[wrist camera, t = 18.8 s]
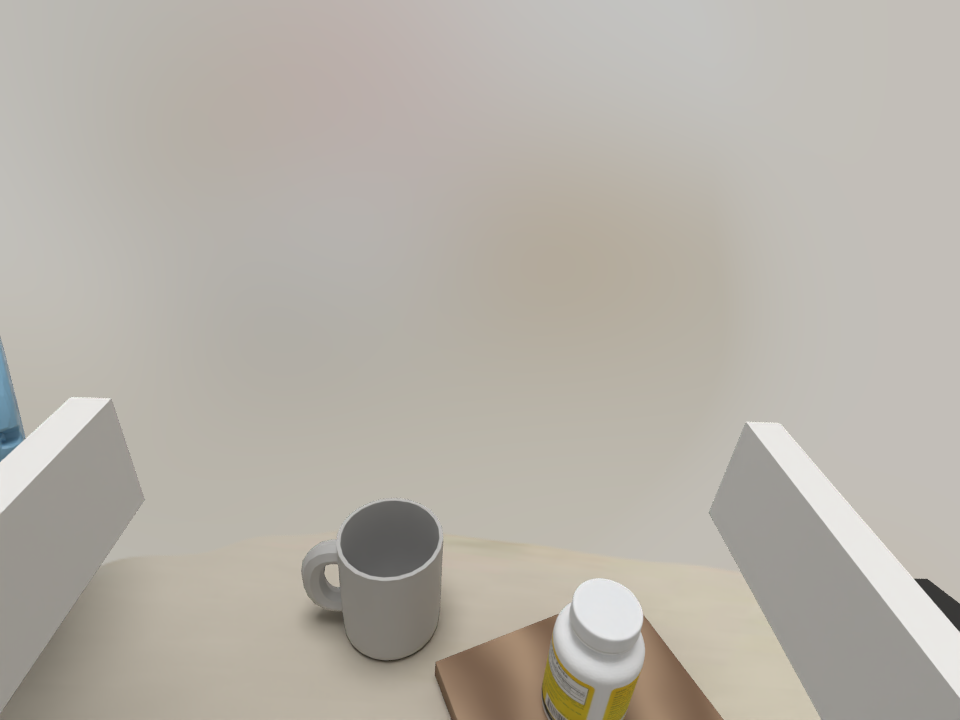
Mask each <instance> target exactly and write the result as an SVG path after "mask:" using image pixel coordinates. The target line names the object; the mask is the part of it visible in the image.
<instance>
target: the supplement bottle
mask: <svg viewBox="0 0 960 720" xmlns="http://www.w3.org/2000/svg"><path fill="white" fill-rule="evenodd" d="M642 624H643V611H642V608H641V605H640V603H639V601H638V600H637V598H636V597H635V596H634V594H633V593H632V592H631V591H630V590H628V589H627V588H626V587H625V586H623V585H621V584H620V583H617V582H615V581H612V580H608V579H602V578H597V579H591V580H588V581H586V582H584V583H582V584H581V585H580V586H579V587H578V588H577V589H576V591H575V593H574V596H573V599H572V602H571V603H569V604H568V605H566V606H565V607H564V608H563V609H562V611H561V612H560V613H559V615H558V617H557V619H556V622H555V625H554V629H553V633H552V638H551V643H550V648H549V653H548V658H547V663H546V668H545V673H544V678H543V683H542V692H541V696H542V705H543V709H544V712H545V714H546V716H547V718H548V720H624V718H625V715H626V712H627V709H628V706H629V703H630V700H631V698H632V695H633V692H634V689H635V686H636V684H637V681H638V678H639V675H640V673H641V670H642V667H643V663H644V659H645V644H644V640H643V636H642V633H641V628H642Z"/></svg>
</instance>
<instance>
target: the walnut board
mask: <svg viewBox="0 0 960 720" xmlns="http://www.w3.org/2000/svg"><path fill="white" fill-rule="evenodd" d="M558 615H559V614H557V615H555V616H552V617H550V618H547V619H544V620H542V621H539V622H537V623H534V624H532V625H529V626H527V627H524V628H521V629H519V630H516V631H514V632H511V633H509V634H506V635H504V636H501V637H498V638H496V639H493V640H491V641H488V642H486V643H483V644H481V645H478V646H475V647H473V648H470V649H468V650H465V651H463V652H460V653H458V654H455V655H452V656H450V657H447V658H445V659H442V660H440V661H437V662H436V666H435V676H436V678H437V681H438V684H439V687H440V689H441V692H442V695H443V697H444V700H445V703H446V706H447V708H448V711H449V714H450V716H451V719H452V720H548V718H547V716H546V714H545V712H544V709H543V705H542V696H541V692H542V683H543V678H544V673H545V668H546V663H547V658H548V653H549V648H550V643H551V638H552V633H553V629H554V625H555V622H556V619H557V617H558ZM641 633H642V636H643V640H644V644H645V659H644V663H643V667H642V670H641V673H640V675H639V678H638V681H637V684H636V686H635V689H634V692H633V695H632V698H631V700H630V703H629V706H628V709H627V712H626V715H625V718H624V720H723V718H722V717H721V716H720V715H719V713H718V712H717V711H716V709H715V708H714V707H713V705H712V704H711V703H710V701H709V700H708V699H707V698H706V696H705V695H704V694H703V692H702V691H701V690H700V688H699V687H698V686H697V684H696V683H695V682H694V680H693V679H692V678H691V677H690V675H689V674H688V673H687V671H686V670H685V669H684V667H683V666H682V665H681V663H680V662H679V661H678V659H677V658H676V657H675V656H674V654H673V653H672V652H671V650H670V649H669V648H668V646H667V645H666V644H665V642H664V641H663V640H662V639H661V637H660V636H659V635H658V633H657V632H656V631H655V629H654V628H653V627H652V625H651V624H650V623H649V621H648V620H647V619H646V618H645V616H644V615H643V624H642V628H641Z"/></svg>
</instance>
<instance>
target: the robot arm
mask: <svg viewBox="0 0 960 720" xmlns="http://www.w3.org/2000/svg"><path fill="white" fill-rule="evenodd" d="M144 500H145V499H144V496H143V493H142V490H141V487H140V484H139V481H138V478H137V474H136V471H135V469H134V466H133V463H132V459H131V456H130V453H129V450H128V447H127V444H126V441H125V438H124V436H123V433H122V429H121V426H120V423H119V420H118V417H117V414H116V411H115V408H114V405H113V402H112V399H111V398H110V399H109V398H84V397H82V398H81V397H70V398H69V399H68V400H67V401H66V402H65V403H64V404H63V405H62V406H61V407H59V408H58V409H57V410H56V411H55V412H54V413H53V414H52V415H51V416H50V417H49V418H48V419H46V420H45V421H44V422H43V423H42V424H41V425H40V426H39V427H38V428H37V429H36V430H34V431H33V432H32V434H30V435H29V436H28V437H27V438H25V434H24V430H23V425H22V421H21V417H20V413H19V409H18V405H17V400H16V396H15V392H14V388H13V384H12V380H11V376H10V372H9V368H8V364H7V360H6V356H5V352H4V348H3V345H2V341H1V337H0V713H1V712H2V710H3V709H4V707H5V706H6V704H7V703H8V701H9V700H10V698H11V697H12V695H13V694H14V693H15V691H16V690H17V688H18V687H19V685H20V684H21V682H22V681H23V679H24V678H25V676H26V675H27V673H28V672H29V670H30V669H31V667H32V666H33V664H34V663H35V661H36V660H37V658H38V657H39V656H40V654H41V653H42V651H43V650H44V648H45V647H46V645H47V644H48V642H49V641H50V639H51V638H52V636H53V635H54V633H55V632H56V630H57V629H58V627H59V626H60V624H61V623H62V622H63V620H64V619H65V617H66V616H67V614H68V613H69V611H70V610H71V608H72V607H73V605H74V604H75V602H76V601H77V599H78V598H79V596H80V595H81V593H82V592H83V590H84V589H85V587H86V586H87V585H88V583H89V582H90V580H91V579H92V577H93V576H94V574H95V573H96V571H97V570H98V568H99V567H100V565H101V564H102V562H103V561H104V559H105V558H106V556H107V555H108V553H109V552H110V550H111V549H112V548H113V546H114V545H115V543H116V542H117V540H118V539H119V537H120V536H121V534H122V533H123V531H124V530H125V528H126V527H127V525H128V524H129V522H130V521H131V519H132V518H133V516H134V515H135V514H136V512H137V511H138V509H139V508H140V506H141V504H142V503H143V502H144ZM709 514H710V516H711V518H712V520H713V521H714V523H715V525H716V527H717V529H718V531H719V532H720V534H721V536H722V538H723V540H724V542H725V543H726V545H727V547H728V549H729V551H730V552H731V554H732V556H733V558H734V560H735V562H736V564H737V565H738V567H739V569H740V571H741V573H742V575H743V577H744V578H745V580H746V582H747V584H748V586H749V588H750V589H751V591H752V593H753V595H754V597H755V599H756V600H757V602H758V604H759V606H760V608H761V610H762V611H763V613H764V615H765V617H766V619H767V621H768V622H769V624H770V626H771V628H772V630H773V632H774V633H775V635H776V637H777V639H778V641H779V643H780V644H781V646H782V648H783V650H784V652H785V654H786V655H787V657H788V659H789V661H790V663H791V665H792V666H793V668H794V670H795V672H796V674H797V676H798V677H799V679H800V681H801V683H802V685H803V687H804V688H805V690H806V692H807V694H808V696H809V698H810V699H811V701H812V703H813V705H814V707H815V709H816V711H817V712H818V714H819V716H820V718H821V720H960V604H959V603H958V602H957V601H955V600H954V599H953V598H952V597H950V596H948V594H946V593H945V592H944V591H942V590H941V589H940V588H938V587H937V586H936V585H934V584H933V583H932V582H931V581H929V580H928V579H913V577H912V576H911V575H910V574H909V573H908V572H907V571H906V569H905V568H904V567H903V566H902V565H901V564H900V562H899V561H898V560H897V559H896V558H895V557H894V555H893V554H892V553H891V552H890V551H889V550H888V548H887V547H886V546H885V545H884V544H883V543H882V541H881V540H880V539H879V538H878V537H877V536H876V535H875V533H874V532H873V531H872V530H871V529H870V527H869V526H868V525H867V524H866V523H865V522H864V521H863V519H862V518H861V517H860V516H859V515H858V514H857V513H856V511H855V510H854V509H853V508H852V507H851V506H850V504H849V503H848V502H847V501H846V500H845V499H844V497H843V496H842V495H841V494H840V493H839V491H838V490H837V489H836V488H835V487H834V486H833V485H832V483H831V482H830V481H829V480H828V479H827V478H826V476H825V475H824V474H823V473H822V472H821V471H820V469H819V468H818V467H817V466H816V465H815V464H814V462H813V461H812V460H811V459H810V458H809V457H808V456H807V455H806V453H805V452H804V451H803V450H802V448H800V446H799V445H798V444H797V443H796V441H794V439H793V438H792V437H791V436H790V435H789V433H788V432H787V431H786V430H785V429H784V428H783V426H782V425H781V424H780V423H766V422H764V423H763V422H746V423H745V425H744V428H743V430H742V433H741V435H740V438H739V440H738V442H737V445H736V447H735V450H734V452H733V455H732V457H731V460H730V462H729V465H728V467H727V469H726V472H725V474H724V477H723V479H722V482H721V484H720V486H719V489H718V491H717V494H716V496H715V499H714V501H713V504H712V506H711V508H710V511H709Z"/></svg>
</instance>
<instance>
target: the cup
mask: <svg viewBox="0 0 960 720" xmlns="http://www.w3.org/2000/svg"><path fill="white" fill-rule="evenodd" d="M442 554H443V531H442V526H441V524H440V522H439V520H438V518H437V517H436V516H435V515H434V513H433V512H432V511H431V510H430V509H428V508H426V507H425V506H423V505H422V504H420V503H417V502H414V501H412V500H407V499H400V498H388V499H381V500H377V501H373V502H370V503H368V504H365V505H363V506H361V507H359V508H358V509H356V510H355V511H354V512H352V513H351V514H350V515H349V516H348V517H347V518H346V520H345V521H344V522H343V523H342V525H341V527H340V529H339V531H338V534H337V540H327V541H323V542H320V543H319V544H317V545H316V546H314V547H313V548H312V549H311V550H310V551H309V552H308V553H307V555H306V557H305V558H304V560H303V563H302V570H301V572H302V578H303V584H304V588H305V590H306V593H307V595H308V596H309V598H310V599H311V600H312V601H313V602H314V603H315V604H317V605H318V606H320V607H322V608H324V609H328V610H332V611H340V612H343V618H344V625H345V630H346V634H347V637H348V638H349V640H350V642H351V643H352V645H353V646H354V647H355V648H356V649H357V650H359V651H360V652H361V653H362V654H364V655H367V656H369V657H371V658H374V659H380V660H394V659H401V658H403V657H406V656H409V655H412V654H413V653H415V652H416V651H418V650H419V649H421V648H422V647H423V646H424V645H425V644H426V643H427V642H428V641H429V639H430V638H431V637H432V635H433V633H434V631H435V629H436V627H437V623H438V618H439V612H440V595H441V575H442ZM329 564H338V567H339V581H340V588H338V587H334V586H332V585H331V584H329V582H328V581H327V579H326V577H325V575H324V571H325V566H326V565H329Z"/></svg>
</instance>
